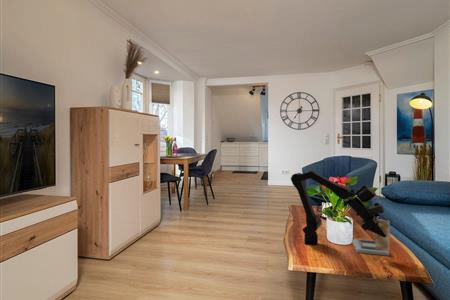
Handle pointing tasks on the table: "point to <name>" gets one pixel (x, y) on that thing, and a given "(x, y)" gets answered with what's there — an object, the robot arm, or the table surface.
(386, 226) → the birch block
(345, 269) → the table surface
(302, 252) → the table surface
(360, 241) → the baseplate
